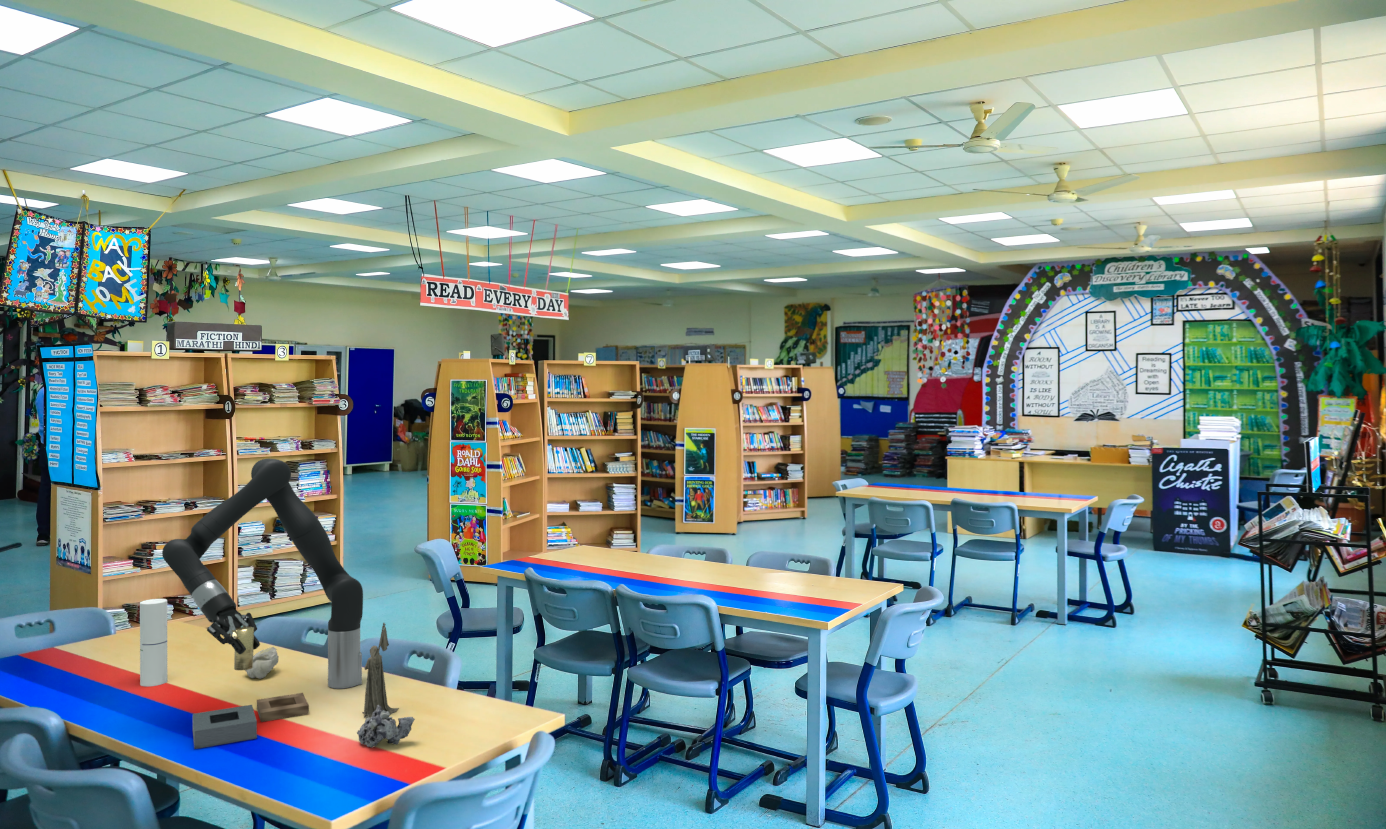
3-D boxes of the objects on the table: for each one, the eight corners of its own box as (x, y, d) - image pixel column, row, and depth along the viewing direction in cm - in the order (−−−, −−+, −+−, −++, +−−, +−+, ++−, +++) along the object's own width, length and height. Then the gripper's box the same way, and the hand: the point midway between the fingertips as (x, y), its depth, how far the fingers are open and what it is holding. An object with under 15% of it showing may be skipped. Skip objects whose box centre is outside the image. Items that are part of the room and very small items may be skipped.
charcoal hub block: (251, 721, 239) (251, 704, 239) (256, 738, 227) (256, 721, 227) (192, 730, 232) (192, 713, 232) (194, 749, 220) (194, 731, 220)
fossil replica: (245, 683, 271) (280, 680, 276) (248, 657, 270) (283, 654, 276) (240, 670, 281) (274, 667, 286) (242, 644, 280) (276, 642, 286)
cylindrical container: (154, 687, 266) (154, 604, 266) (134, 685, 268) (134, 603, 267) (173, 679, 273) (172, 599, 273) (153, 678, 275) (153, 598, 274)
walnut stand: (302, 701, 255) (302, 692, 255) (308, 714, 245) (308, 705, 245) (256, 708, 249) (256, 699, 249) (260, 722, 239) (260, 712, 239)
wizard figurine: (383, 704, 253) (383, 617, 253) (403, 709, 249) (403, 621, 248) (352, 714, 245) (353, 625, 244) (372, 721, 240) (373, 629, 240)
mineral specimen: (421, 726, 226) (396, 692, 225) (393, 752, 218) (367, 717, 217) (395, 739, 233) (371, 706, 233) (367, 765, 225) (342, 731, 224)
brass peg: (252, 664, 239) (253, 625, 239) (253, 669, 235) (254, 629, 235) (233, 666, 237) (234, 627, 236) (234, 671, 233) (235, 631, 233)
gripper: (201, 597, 231) (238, 647, 228) (242, 586, 244) (277, 634, 241) (184, 615, 232) (221, 666, 229) (225, 604, 246) (261, 651, 243)
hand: (250, 649), depth 235 cm, fingers closed on brass peg, 4 cm apart
